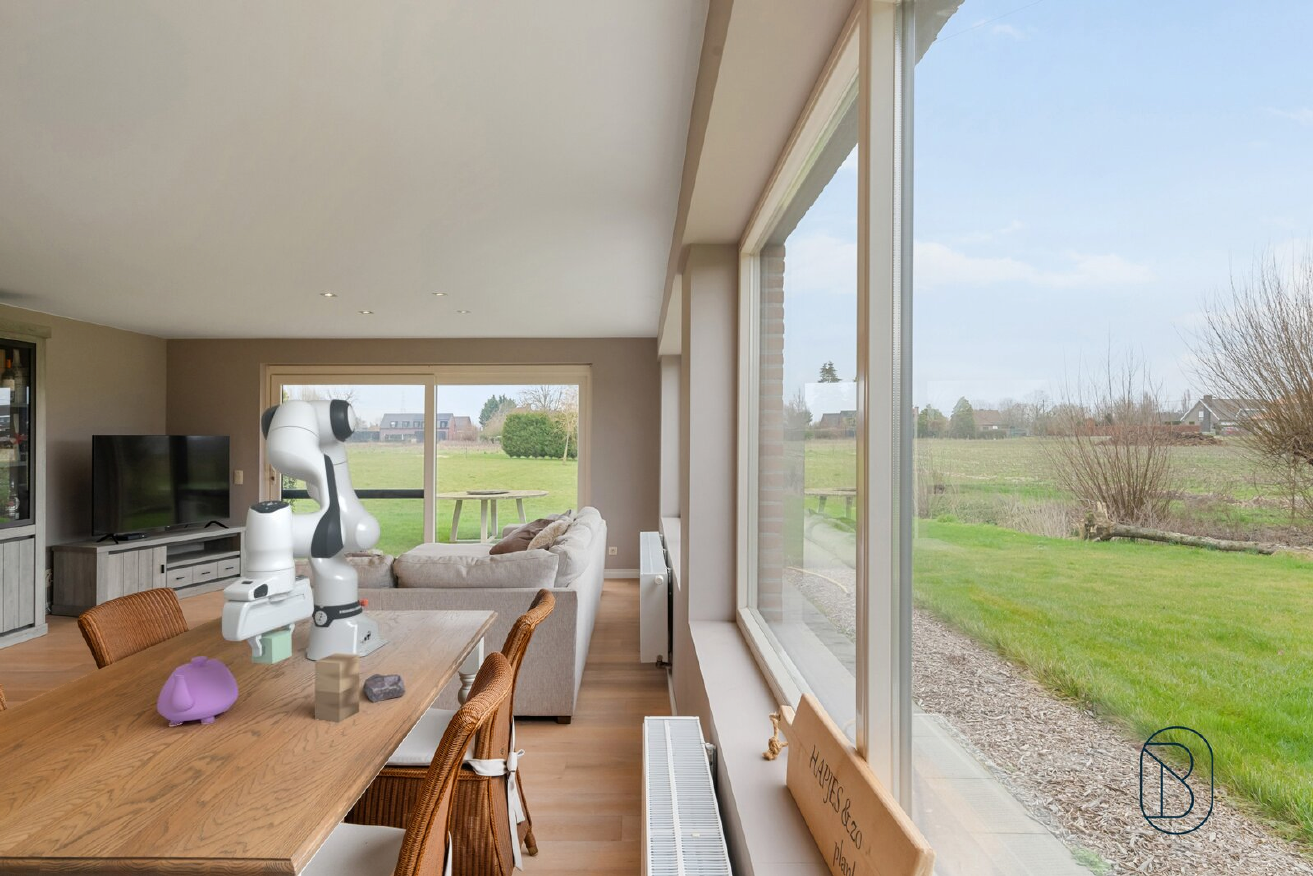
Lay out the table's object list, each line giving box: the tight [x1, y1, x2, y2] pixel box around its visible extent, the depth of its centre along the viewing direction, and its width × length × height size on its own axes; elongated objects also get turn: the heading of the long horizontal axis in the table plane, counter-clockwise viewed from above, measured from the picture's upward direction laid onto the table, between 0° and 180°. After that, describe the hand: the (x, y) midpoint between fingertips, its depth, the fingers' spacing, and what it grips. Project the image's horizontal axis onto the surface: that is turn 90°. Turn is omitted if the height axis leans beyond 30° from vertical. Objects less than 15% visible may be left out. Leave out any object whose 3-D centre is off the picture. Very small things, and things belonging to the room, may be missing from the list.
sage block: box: [250, 629, 293, 665], centre depth 140 cm, size 5×5×5 cm
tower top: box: [314, 653, 360, 693], centre depth 146 cm, size 6×6×6 cm
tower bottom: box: [314, 683, 360, 723], centre depth 146 cm, size 6×6×6 cm
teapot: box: [156, 655, 239, 725], centre depth 144 cm, size 20×14×12 cm
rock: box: [362, 673, 406, 703], centre depth 159 cm, size 8×11×5 cm
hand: (271, 650), depth 140 cm, fingers closed on sage block, 5 cm apart
